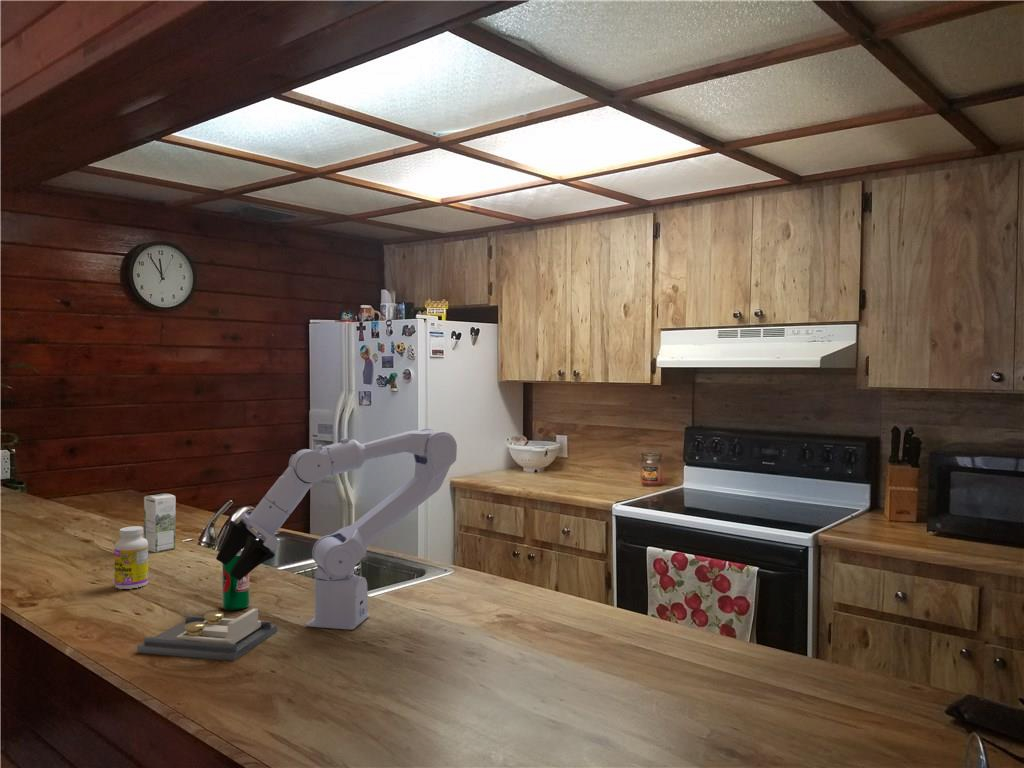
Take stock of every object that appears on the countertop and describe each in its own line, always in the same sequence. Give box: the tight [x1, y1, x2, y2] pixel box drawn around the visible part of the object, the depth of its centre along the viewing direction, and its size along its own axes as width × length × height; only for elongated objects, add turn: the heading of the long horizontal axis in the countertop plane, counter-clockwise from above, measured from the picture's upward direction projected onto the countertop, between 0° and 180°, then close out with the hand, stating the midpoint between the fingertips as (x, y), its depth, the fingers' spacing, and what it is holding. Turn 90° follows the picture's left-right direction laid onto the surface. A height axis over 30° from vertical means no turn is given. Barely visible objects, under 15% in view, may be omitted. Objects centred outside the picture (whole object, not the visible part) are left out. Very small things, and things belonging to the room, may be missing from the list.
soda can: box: [221, 548, 250, 611], centre depth 149 cm, size 5×5×12 cm
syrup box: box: [143, 493, 177, 553], centre depth 197 cm, size 6×6×14 cm
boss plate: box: [136, 610, 278, 662], centre depth 130 cm, size 18×14×4 cm
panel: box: [176, 608, 262, 644], centre depth 130 cm, size 10×10×4 cm
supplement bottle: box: [114, 525, 149, 590], centre depth 164 cm, size 7×7×13 cm
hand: (227, 569), depth 132 cm, fingers open, 7 cm apart
